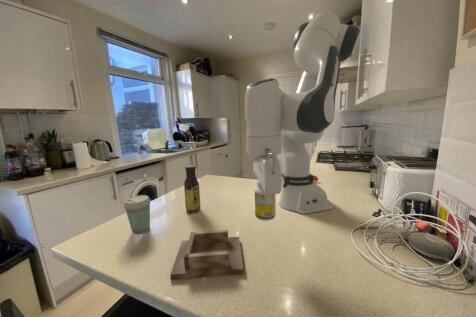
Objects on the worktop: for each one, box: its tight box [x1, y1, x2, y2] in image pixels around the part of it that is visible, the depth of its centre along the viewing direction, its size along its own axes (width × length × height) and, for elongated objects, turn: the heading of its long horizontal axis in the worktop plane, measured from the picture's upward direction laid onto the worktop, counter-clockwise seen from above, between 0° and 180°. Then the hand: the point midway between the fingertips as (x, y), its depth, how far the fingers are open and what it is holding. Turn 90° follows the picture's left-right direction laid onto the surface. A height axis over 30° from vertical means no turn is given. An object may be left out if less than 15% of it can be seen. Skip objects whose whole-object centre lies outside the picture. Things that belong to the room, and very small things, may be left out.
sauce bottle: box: [183, 164, 201, 215], centre depth 85 cm, size 7×6×20 cm
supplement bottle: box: [254, 180, 277, 222], centre depth 54 cm, size 6×6×10 cm
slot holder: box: [169, 229, 244, 281], centre depth 56 cm, size 18×14×5 cm
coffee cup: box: [123, 194, 151, 235], centre depth 72 cm, size 8×9×12 cm
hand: (265, 197), depth 54 cm, fingers closed on supplement bottle, 6 cm apart
